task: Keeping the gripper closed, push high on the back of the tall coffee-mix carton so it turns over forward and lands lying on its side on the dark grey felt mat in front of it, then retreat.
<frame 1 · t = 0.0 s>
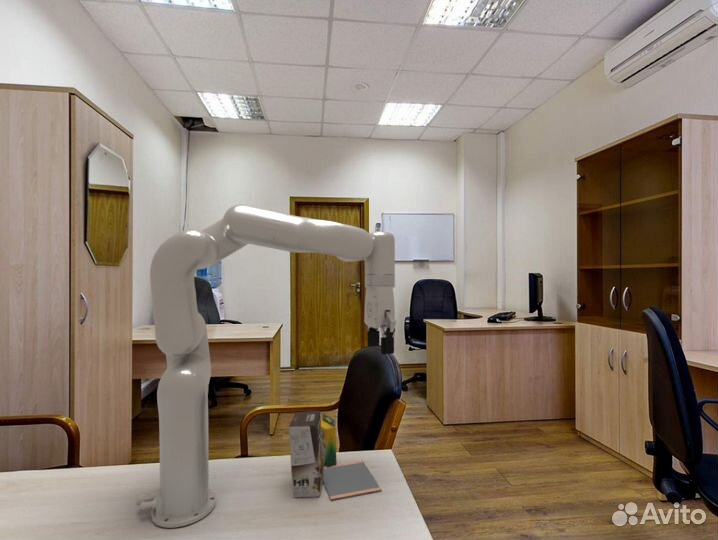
hand: (380, 349, 94), 31 cm above the table, fingers open, 9 cm apart
coffee box: (309, 486, 89), on the table, touching felt mat
felt mat: (348, 479, 91), on the table
crayon box: (325, 462, 100), on the table, touching felt mat
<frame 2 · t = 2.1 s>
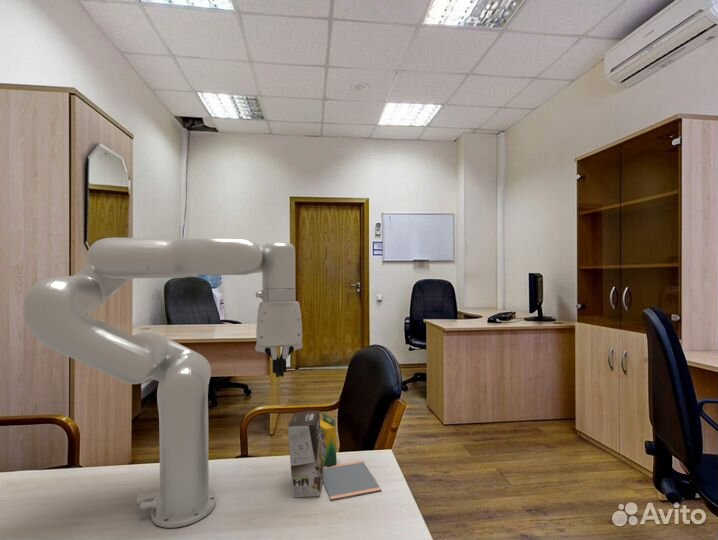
hand: (279, 375, 87), 27 cm above the table, fingers closed
nothing on the table moved.
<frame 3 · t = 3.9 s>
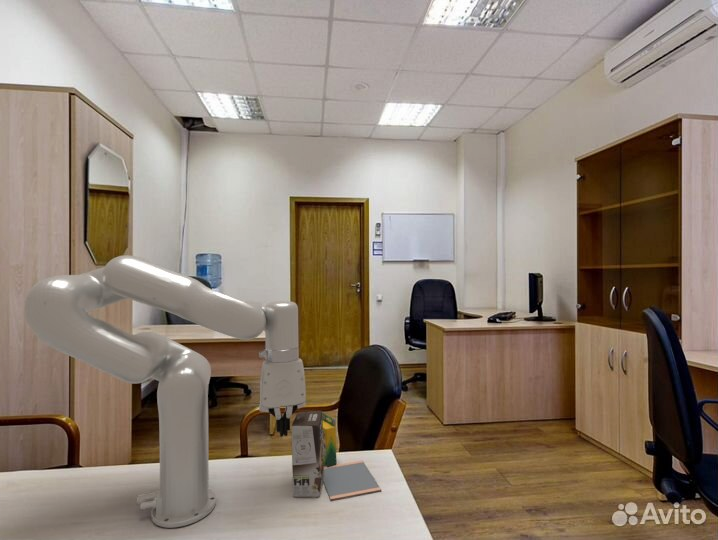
hand: (283, 433, 87), 13 cm above the table, fingers closed
coffee box: (309, 486, 89), on the table, touching felt mat, gripper
everything else where it was.
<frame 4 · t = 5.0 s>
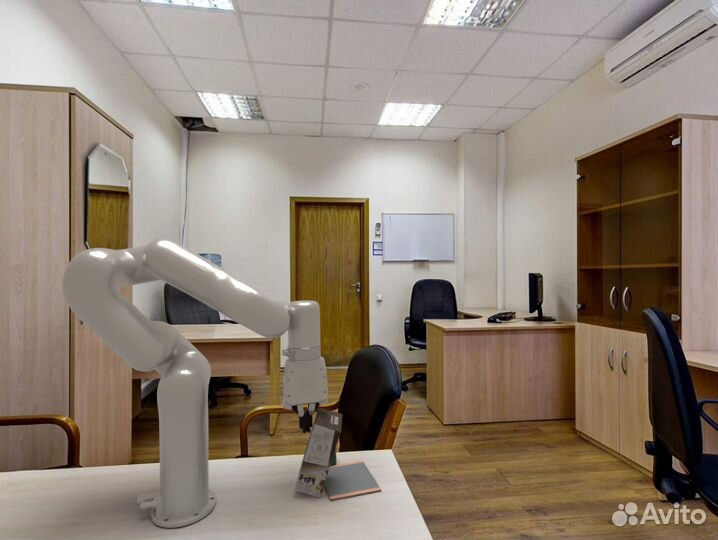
hand: (305, 430, 88), 13 cm above the table, fingers closed
coffee box: (309, 482, 89), point 1 cm above the table, touching felt mat, gripper
everything else where it was.
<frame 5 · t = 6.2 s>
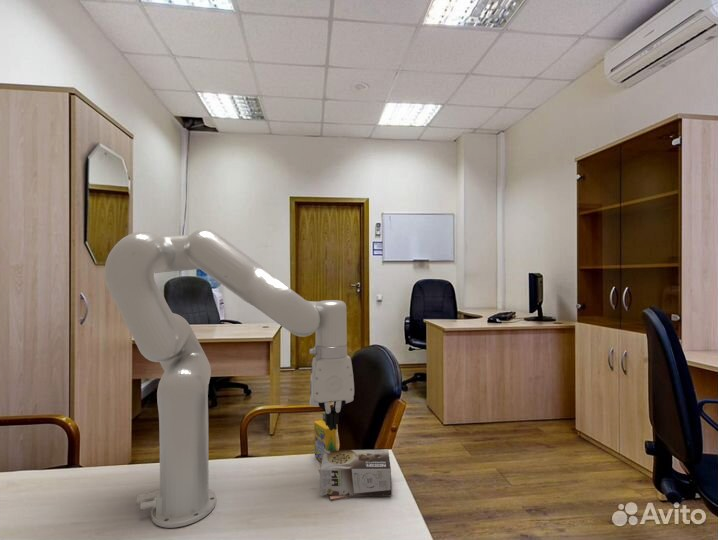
hand: (332, 427, 90), 13 cm above the table, fingers closed
coffee box: (321, 471, 89), point 4 cm above the table, touching felt mat
everything else where it was.
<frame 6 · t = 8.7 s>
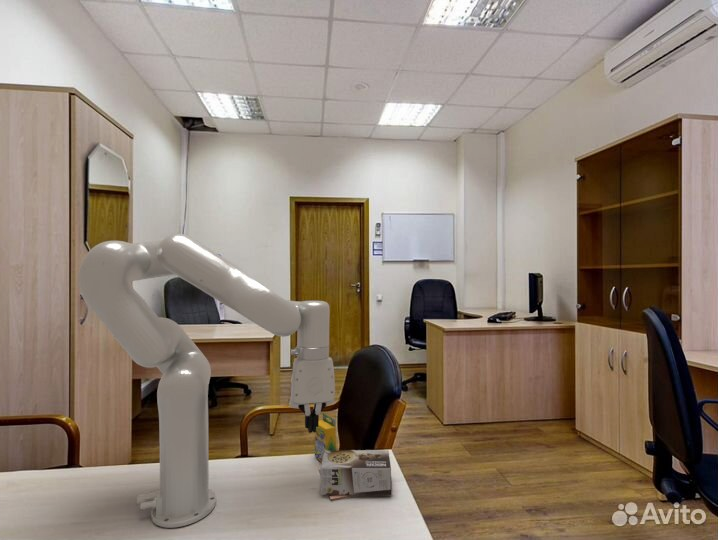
hand: (311, 430, 89), 13 cm above the table, fingers closed
nothing on the table moved.
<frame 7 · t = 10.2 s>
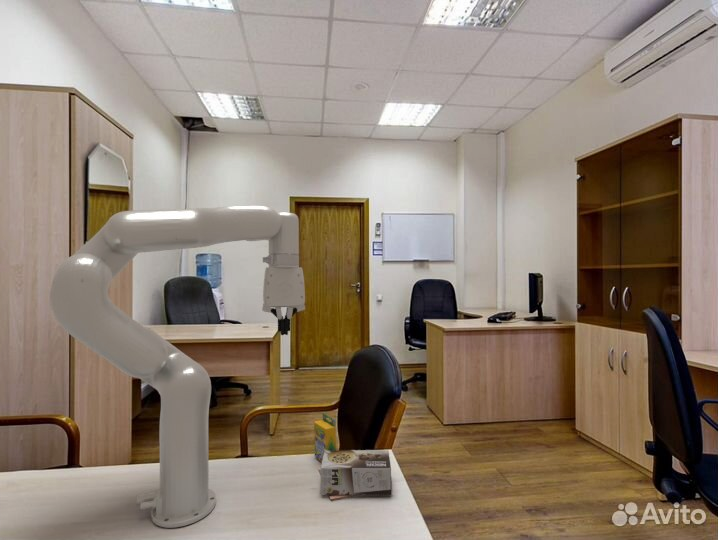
hand: (284, 334, 95), 35 cm above the table, fingers closed
nothing on the table moved.
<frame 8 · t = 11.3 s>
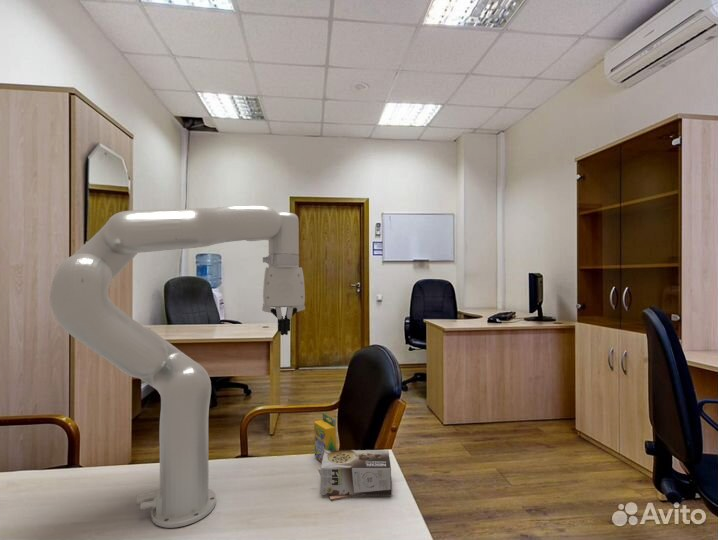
hand: (284, 334, 95), 35 cm above the table, fingers closed
nothing on the table moved.
at the end: coffee box tilted 90°; coffee box inside the target area (3.9 cm from its centre), point 3.6 cm above the table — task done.
